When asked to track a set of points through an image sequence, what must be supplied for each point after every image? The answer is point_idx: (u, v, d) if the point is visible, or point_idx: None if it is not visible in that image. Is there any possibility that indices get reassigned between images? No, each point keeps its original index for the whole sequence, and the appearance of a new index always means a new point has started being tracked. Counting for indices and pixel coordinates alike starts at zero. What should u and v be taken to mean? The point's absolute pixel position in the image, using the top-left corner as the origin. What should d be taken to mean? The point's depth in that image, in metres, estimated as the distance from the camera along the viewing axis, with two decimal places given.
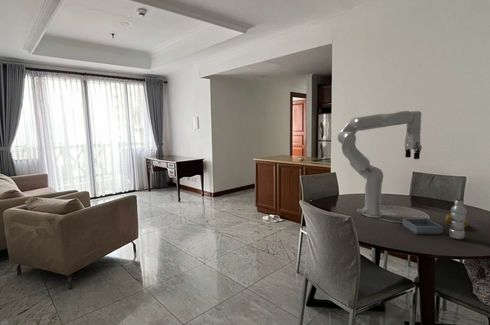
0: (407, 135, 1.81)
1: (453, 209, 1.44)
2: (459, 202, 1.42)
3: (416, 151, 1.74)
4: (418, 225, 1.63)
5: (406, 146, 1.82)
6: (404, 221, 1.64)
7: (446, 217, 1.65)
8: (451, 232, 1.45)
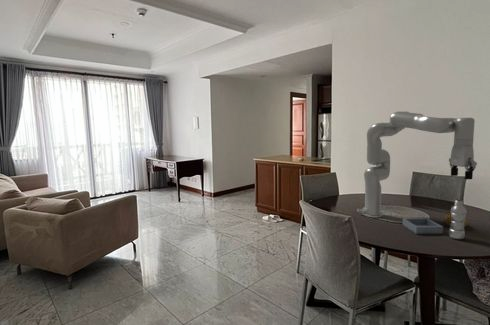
0: (454, 148, 1.42)
1: (453, 209, 1.44)
2: (459, 202, 1.42)
3: (469, 169, 1.35)
4: (418, 225, 1.63)
5: (453, 162, 1.43)
6: (404, 221, 1.64)
7: (445, 217, 1.65)
8: (451, 232, 1.45)
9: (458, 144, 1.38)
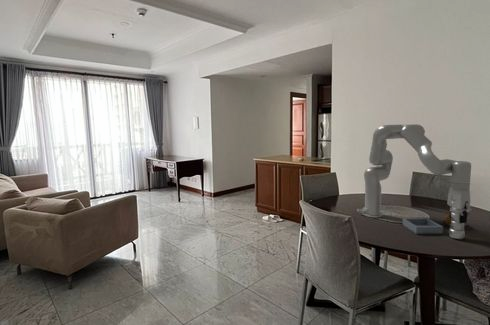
0: (452, 190, 1.45)
1: (453, 209, 1.44)
2: None
3: (463, 214, 1.40)
4: (418, 225, 1.63)
5: (450, 203, 1.46)
6: (404, 221, 1.64)
7: (445, 217, 1.65)
8: (451, 232, 1.45)
9: (455, 187, 1.41)
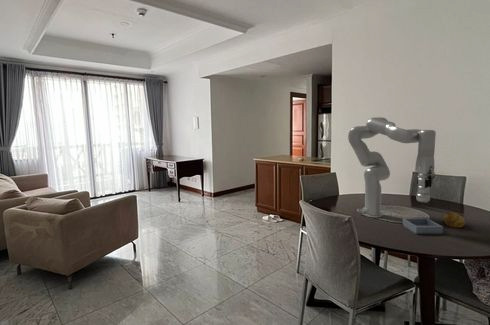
0: (418, 157, 1.56)
1: (419, 174, 1.55)
2: None
3: (428, 178, 1.51)
4: (418, 225, 1.63)
5: (417, 170, 1.57)
6: (404, 221, 1.64)
7: (444, 216, 1.66)
8: (418, 196, 1.57)
9: (421, 154, 1.52)
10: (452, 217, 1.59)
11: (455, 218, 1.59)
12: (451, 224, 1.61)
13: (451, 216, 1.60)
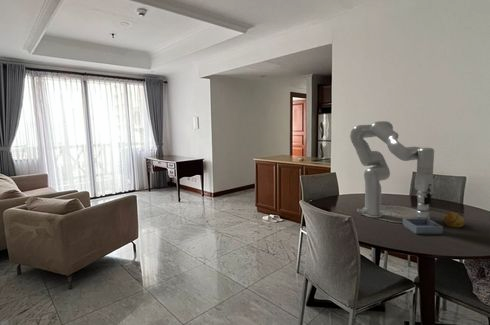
0: (417, 174, 1.57)
1: (419, 192, 1.56)
2: None
3: (427, 196, 1.52)
4: (418, 225, 1.63)
5: (416, 187, 1.58)
6: (404, 221, 1.64)
7: None
8: (417, 213, 1.58)
9: (420, 171, 1.54)
10: (451, 217, 1.60)
11: (454, 218, 1.60)
12: (450, 224, 1.61)
13: (450, 216, 1.60)
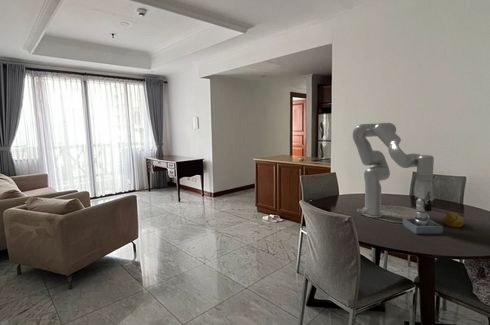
0: (417, 182, 1.58)
1: (417, 201, 1.57)
2: None
3: (427, 202, 1.51)
4: None
5: (416, 194, 1.59)
6: (404, 221, 1.64)
7: (443, 216, 1.67)
8: (416, 222, 1.59)
9: (419, 179, 1.54)
10: (451, 217, 1.60)
11: (454, 218, 1.60)
12: (450, 224, 1.61)
13: (450, 216, 1.60)
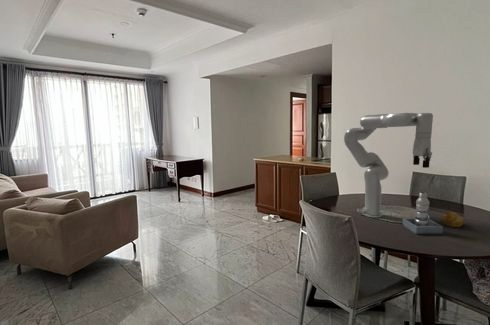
0: (416, 140, 1.60)
1: (417, 201, 1.57)
2: (422, 194, 1.56)
3: (425, 158, 1.53)
4: None
5: (414, 152, 1.61)
6: (404, 221, 1.64)
7: (443, 216, 1.67)
8: (416, 222, 1.59)
9: (418, 136, 1.56)
10: (450, 216, 1.60)
11: (453, 217, 1.60)
12: (449, 223, 1.62)
13: (449, 215, 1.61)
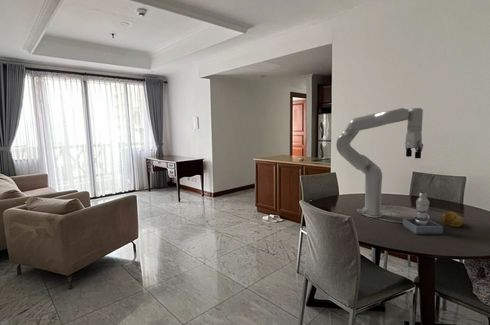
0: (408, 133, 1.73)
1: (417, 201, 1.57)
2: (422, 194, 1.56)
3: (417, 150, 1.66)
4: None
5: (407, 145, 1.74)
6: (404, 221, 1.64)
7: None
8: (416, 222, 1.59)
9: (410, 130, 1.69)
10: (449, 216, 1.61)
11: (452, 217, 1.61)
12: (448, 223, 1.62)
13: (448, 215, 1.61)
